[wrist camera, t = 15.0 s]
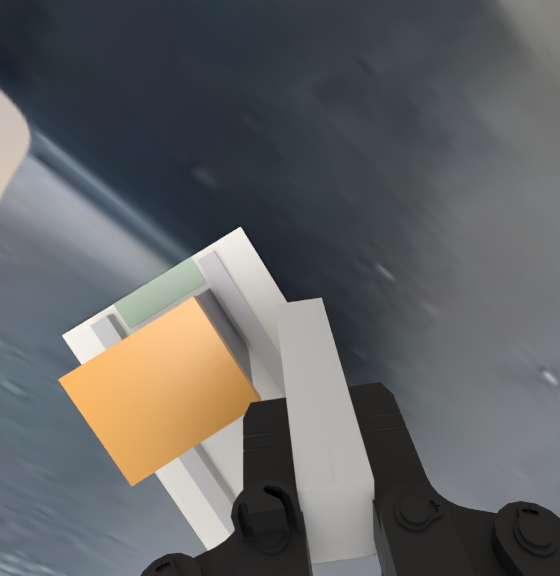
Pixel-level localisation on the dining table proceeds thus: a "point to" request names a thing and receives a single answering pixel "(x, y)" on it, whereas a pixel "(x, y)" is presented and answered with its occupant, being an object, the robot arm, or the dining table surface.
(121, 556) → the dining table surface
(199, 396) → the handle
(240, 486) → the railed base plate
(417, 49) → the dining table surface
